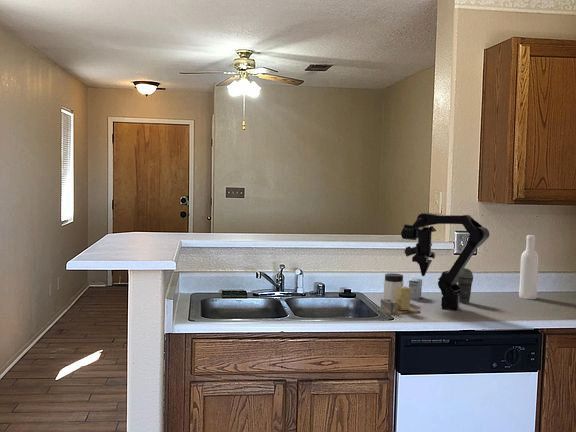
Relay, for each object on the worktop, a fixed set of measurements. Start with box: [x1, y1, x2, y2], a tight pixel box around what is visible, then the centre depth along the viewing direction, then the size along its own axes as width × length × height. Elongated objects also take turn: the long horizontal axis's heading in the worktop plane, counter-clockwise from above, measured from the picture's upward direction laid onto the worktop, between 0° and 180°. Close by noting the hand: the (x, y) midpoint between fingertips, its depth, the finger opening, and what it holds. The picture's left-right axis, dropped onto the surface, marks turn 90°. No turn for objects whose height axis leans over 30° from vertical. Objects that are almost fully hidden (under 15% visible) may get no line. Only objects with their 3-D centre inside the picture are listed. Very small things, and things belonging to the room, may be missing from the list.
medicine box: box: [408, 277, 423, 301], centre depth 278 cm, size 8×4×9 cm, turn 155°
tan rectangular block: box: [395, 285, 411, 310], centre depth 249 cm, size 9×4×9 cm, turn 109°
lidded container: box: [383, 272, 404, 302], centre depth 270 cm, size 9×8×12 cm
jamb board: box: [379, 298, 421, 316], centre depth 250 cm, size 14×8×5 cm, turn 109°
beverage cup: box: [457, 266, 474, 304], centre depth 270 cm, size 7×7×20 cm
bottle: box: [518, 234, 540, 300], centre depth 284 cm, size 8×8×30 cm
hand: (423, 276), depth 265 cm, fingers closed
